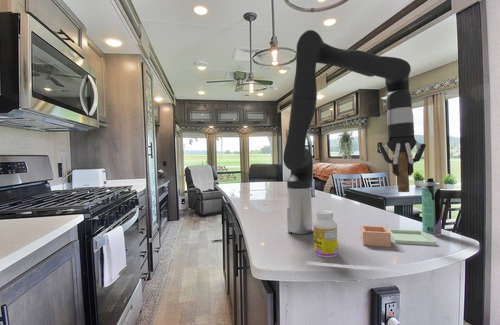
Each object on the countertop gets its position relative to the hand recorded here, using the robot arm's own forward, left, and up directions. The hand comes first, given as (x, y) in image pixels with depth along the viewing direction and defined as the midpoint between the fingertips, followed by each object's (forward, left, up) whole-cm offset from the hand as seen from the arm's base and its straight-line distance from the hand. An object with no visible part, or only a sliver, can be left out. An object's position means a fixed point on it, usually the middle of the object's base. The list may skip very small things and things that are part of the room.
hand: (403, 175), depth 84 cm
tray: (+2, +2, -22) cm, 22 cm away
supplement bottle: (-25, -18, -22) cm, 38 cm away
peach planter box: (-10, -5, -22) cm, 24 cm away
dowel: (0, 0, -5) cm, 5 cm away
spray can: (+11, +11, -22) cm, 27 cm away
